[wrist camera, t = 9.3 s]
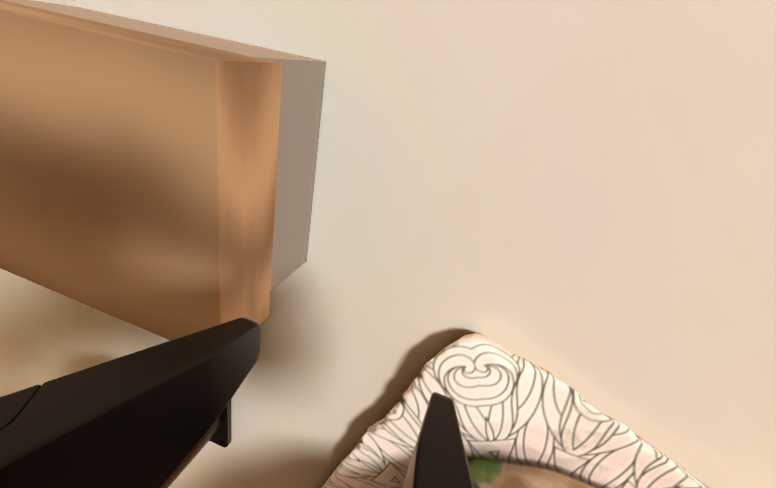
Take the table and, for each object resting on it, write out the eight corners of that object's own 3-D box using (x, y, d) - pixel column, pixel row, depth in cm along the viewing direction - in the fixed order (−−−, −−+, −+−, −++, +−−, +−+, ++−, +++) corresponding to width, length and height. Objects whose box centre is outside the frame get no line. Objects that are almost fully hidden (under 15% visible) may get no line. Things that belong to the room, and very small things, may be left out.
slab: (269, 316, 17) (221, 361, 14) (-2, 212, 20) (-81, 233, 17) (282, 63, 12) (215, 60, 10) (-70, -16, 16) (-190, -35, 13)
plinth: (306, 260, 21) (249, 309, 17) (106, 192, 24) (13, 218, 20) (325, 61, 17) (254, 57, 12) (76, 7, 20) (-52, -12, 15)
